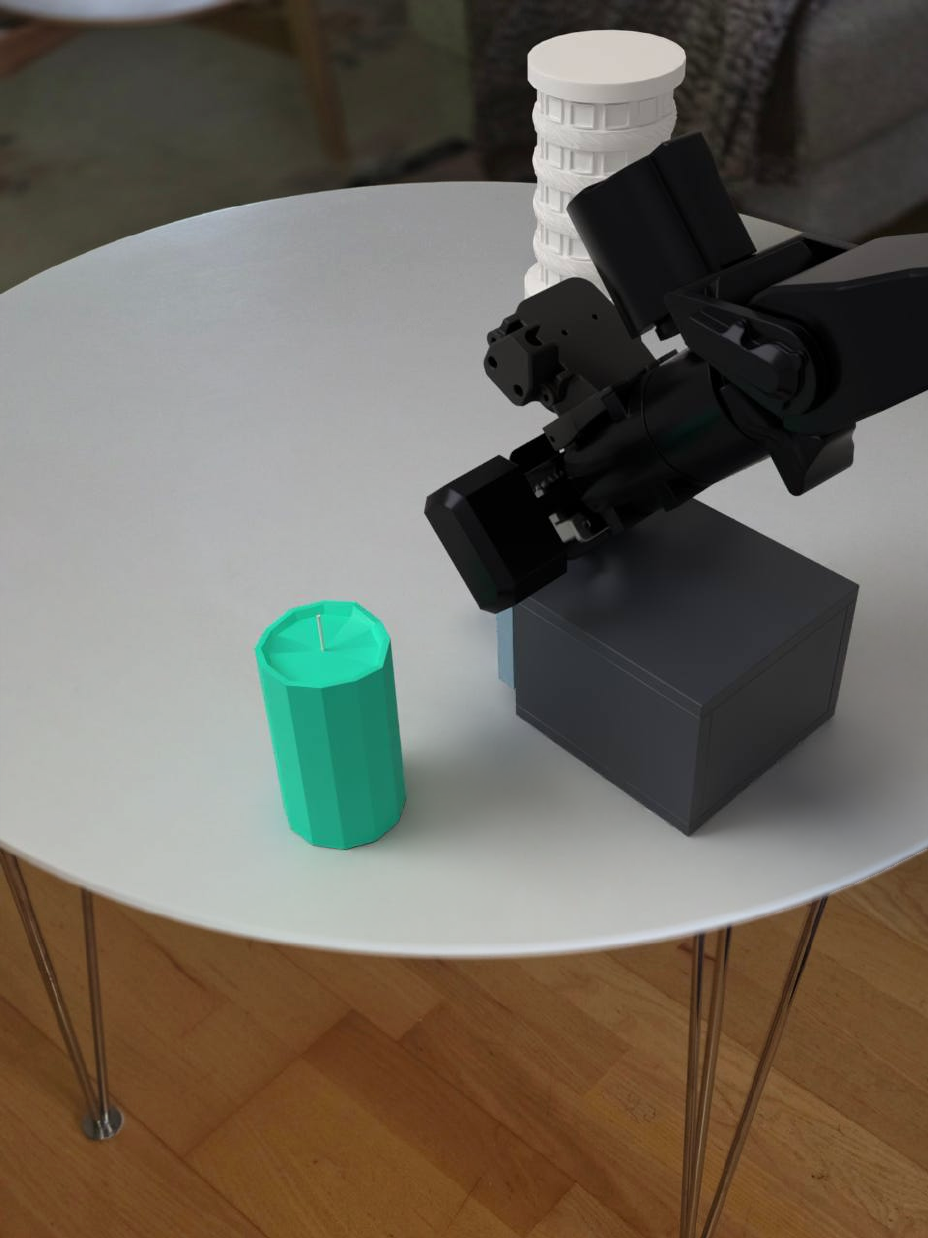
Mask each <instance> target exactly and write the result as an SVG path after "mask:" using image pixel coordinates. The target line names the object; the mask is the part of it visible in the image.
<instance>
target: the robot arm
mask: <svg viewBox="0 0 928 1238" xmlns="http://www.w3.org/2000/svg"><path fill="white" fill-rule="evenodd" d="M566 210H567V213H568V215H569V217H570V219H571V220H572V222H573V224H574V226H575V228H576V230H577V232H578V234H579V236H580V238H581V240H582V242H583V244H584V246H585V248H586V250H587V252H588V254H589V256H590V258H591V260H592V262H593V264H594V266H595V268H596V270H597V272H598V274H599V276H600V278H601V279H602V281H603V283H604V285H605V287H606V289H607V291H608V293H609V295H610V297H611V299H612V301H613V303H614V304H613V303H612V302H611V301H610V300H609V299H608V298H607V297H606V296H605V295H604V294H603V293H602V292H601V291H600V290H599V289H598V288H597V287H596V286H595V285H594V284H593V283H592V282H590V281H588V280H587V279H584V278H580V277H571V278H568V279H565V280H563V281H561V282H559V283H557V284H555V285H553V286H551V287H549V288H547V289H545V290H543V291H541V292H539V293H537V294H535V295H533V296H531V297H529V298H527V299H525V298H524V299H523V300H521V301H520V302H519V303H518V305H517V307H516V309H515V311H514V313H512V314H510V315H508V316H506V317H505V318H503V319H502V321H501V324H500V326H498V327H496V328H494V329H492V330H490V331H489V332H488V333H486V342H487V345H488V349H487V351H486V353H485V356H484V359H483V364H482V365H483V368H484V372H485V375H486V377H488V378H489V379H490V381H491V382H492V383H493V384H494V385H495V386H496V387H497V388H498V390H499V391H500V392H501V393H502V394H503V395H504V396H505V397H506V398H507V399H508V400H509V402H510V403H511V404H513V406H516V407H525V406H527V405H528V404H530V403H533V402H538V403H540V404H541V405H542V406H543V407H544V408H545V409H546V410H548V411H549V412H551V413H552V414H555V415H556V416H557V418H556V419H554V420H552V421H551V422H549V423H547V424H546V425H544V426H543V427H542V428H541V429H542V431H543V433H542V434H541V433H540V435H537V436H536V437H533V438H532V439H530V440H529V441H527V442H525V443H524V444H521V445H520V446H518V447H517V448H515V449H513V450H512V451H511V453H510V454H509V457H508V458H506V457H504V456H503V455H502V454H497V455H496V456H494V457H492V458H490V459H488V460H486V461H485V462H483V463H482V464H481V463H480V464H479V465H478V466H475V467H474V468H473V469H470V470H469V471H466V472H465V473H464V474H462V475H459V476H458V477H457V478H455V479H453V480H451V481H449V482H448V483H446V484H444V485H443V486H441V487H440V488H438V489H436V490H435V491H433V492H431V493H430V494H428V495H427V496H426V499H425V504H424V509H423V514H424V515H425V517H426V519H427V521H428V522H429V524H430V526H431V528H432V529H433V531H434V533H435V535H436V536H437V538H438V539H439V542H440V543H441V545H442V546H443V548H444V550H445V552H446V553H447V555H448V557H449V558H450V560H451V562H452V563H453V565H454V567H455V569H456V571H457V572H458V574H459V575H460V577H461V579H462V581H463V583H464V584H465V586H466V587H467V589H468V591H469V593H470V594H471V596H472V597H473V599H474V601H475V603H476V605H477V606H478V609H480V610H481V611H484V612H487V613H490V614H493V615H497V613H500V612H502V611H504V610H506V609H509V608H511V607H513V606H516V605H517V604H519V603H520V602H522V601H523V600H525V599H526V598H528V597H529V596H531V595H533V594H534V593H536V592H537V591H539V590H540V589H542V588H543V587H545V586H546V585H548V584H550V583H551V582H553V581H554V580H556V579H557V578H559V577H560V576H562V575H563V574H565V573H567V561H571V560H575V559H578V558H579V557H581V556H582V555H584V554H585V553H587V552H588V551H590V550H592V549H593V548H595V547H596V546H598V545H599V544H601V543H602V542H604V541H606V540H607V539H609V536H608V535H607V533H606V531H605V530H606V529H608V528H609V529H610V530H611V532H612V534H613V536H616V535H619V534H621V533H623V532H625V531H627V530H628V529H630V528H632V527H633V526H635V525H636V524H638V523H639V522H641V521H642V520H644V519H646V518H647V517H649V516H650V515H652V514H653V512H654V513H655V512H656V511H658V510H660V509H662V508H664V510H665V512H668V511H670V510H672V509H675V508H677V507H679V506H681V505H682V504H684V503H685V502H687V501H688V500H690V499H691V498H695V497H696V496H697V495H699V494H701V493H702V492H704V491H705V490H707V489H708V488H710V487H712V486H713V485H715V484H717V483H719V482H721V481H724V480H726V479H727V478H730V477H731V476H734V475H736V474H739V473H740V472H743V471H745V470H746V469H747V470H748V469H749V468H751V467H753V466H755V465H757V464H759V463H761V462H763V461H766V460H768V459H770V458H771V460H772V462H773V464H774V466H775V468H776V470H777V472H778V474H779V476H780V478H781V480H782V482H783V484H784V486H785V488H786V490H787V491H788V493H789V494H790V495H791V496H793V497H801V496H803V495H804V494H806V493H807V492H809V491H812V490H813V489H815V488H816V487H819V486H820V485H822V484H823V483H825V482H827V481H829V480H831V479H832V478H834V477H836V476H837V475H839V474H841V473H843V472H845V471H846V470H848V469H849V468H851V467H852V466H853V464H854V459H855V458H854V457H855V441H854V440H853V436H854V435H853V434H854V432H855V431H856V429H857V423H858V422H861V421H863V420H865V419H867V418H870V417H873V416H876V415H877V414H880V413H882V412H885V411H887V410H888V409H891V408H893V407H895V406H897V405H900V404H901V403H904V402H906V401H908V400H910V399H912V398H915V397H916V396H919V395H921V394H924V393H925V392H927V391H928V232H924V233H922V232H921V233H912V234H911V233H910V234H900V235H890V236H882V237H878V238H873V239H870V240H869V241H867V242H865V243H863V244H860V245H859V244H856V243H851V242H848V241H843V240H839V239H835V238H831V237H828V236H822V235H819V234H815V233H811V232H807V231H806V232H805V231H804V232H800V233H798V234H796V235H794V236H792V237H790V238H787V239H784V240H783V241H780V242H778V243H776V244H774V245H771V246H769V247H767V248H764V249H762V250H759V251H758V249H757V248H756V246H755V244H754V242H753V240H752V238H751V236H750V233H749V232H748V230H747V227H746V226H745V223H744V222H743V220H742V218H741V216H740V214H739V212H738V210H737V208H736V206H735V203H734V202H733V200H732V198H731V196H730V194H729V191H728V190H727V188H726V186H725V184H724V182H723V180H722V178H721V175H720V172H719V169H718V165H717V161H716V159H715V156H714V154H713V152H712V150H711V148H710V146H709V144H708V142H707V140H706V138H705V136H704V134H703V132H702V131H700V130H698V129H694V130H692V131H689V132H687V133H684V134H681V135H679V136H676V137H673V138H671V139H670V140H667V141H665V142H662V143H661V144H660V145H659V146H658V147H657V148H656V149H654V150H653V151H652V152H651V153H650V154H649V155H647V156H645V157H643V158H641V159H639V160H637V161H635V162H633V163H632V164H630V165H628V166H626V167H624V168H623V169H621V170H619V171H618V172H616V173H614V174H613V175H611V176H610V177H608V178H607V179H605V180H603V181H600V182H598V183H595V184H592V185H590V186H588V187H586V188H584V189H583V190H582V191H580V192H579V193H578V194H577V195H576V196H575V197H574V198H573V199H572V200H571V201H570V202H569V204H568V206H567V208H566ZM654 328H655V329H654ZM653 329H654V332H655V334H656V336H657V339H658V340H659V342H663V341H667V340H669V339H671V338H672V339H673V338H674V337H677V336H678V335H680V336H681V338H682V340H683V342H684V345H685V346H686V347H685V348H684V349H682V350H681V351H680V352H679V351H678V350H677V348H674V349H672V350H670V351H669V352H667V353H665V354H663V355H662V356H659V357H657V358H656V357H655V356H654V355H653V353H652V352H651V351H650V349H649V348H648V347H647V346H646V344H645V343H644V342H643V340H642V339H643V338H642V336H643V335H645V334H647V333H648V332H650V331H652V330H653ZM562 450H563V451H562Z"/></svg>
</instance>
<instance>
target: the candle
mask: <svg viewBox="0 0 928 1238" xmlns="http://www.w3.org/2000/svg"><path fill="white" fill-rule="evenodd" d="M253 650H254V654H255V659H256V665H257V670H258V671H257V672H258V676H259V682H260V686H261V692H262V697H263V702H264V708H265V713H266V714H265V715H266V719H267V724H268V729H269V730H268V731H269V735H270V740H271V745H272V750H273V756H274V761H275V766H276V772H277V778H278V783H279V787H280V793H281V799H282V804H283V808H284V811H285V814H286V815H285V816H286V819H287V821H288V824H289V828H290V830H291V831H292V832H294V833H295V834H296V835H298V836H300V837H301V838H302V839H304V840H305V841H306V842H308V843H309V844H310V845H312V846H315V847H323V848H331V849H338V850H348V849H353V848H356V847H358V846H363V845H366V844H369V843H372V842H377V841H378V840H379V839H380V838H382V837H383V836H385V834H386V833H387V832H389V831H390V830H391V829H392V828H393V827H394V826H396V825H397V823H399V822H400V818H401V816H402V813H403V809H404V807H405V803H406V800H407V792H406V781H405V771H404V762H403V759H404V758H403V751H402V740H401V732H400V731H401V730H400V721H399V711H398V710H399V709H398V699H397V690H396V679H395V669H394V658H393V649H392V640H391V636H390V635H389V633H388V631H387V629H386V627H385V625H384V624H383V621H382V620H381V619H379V618H378V617H377V616H375V615H374V614H373V613H371V612H370V611H369V610H368V609H367V608H366V607H364V606H363V605H362V604H360V603H359V602H357V601H351V600H349V601H348V600H331V599H330V600H328V599H323V600H319V601H315V602H312V603H311V602H310V603H308V604H303V605H300V606H296V607H292V608H289V609H288V610H287V611H286V612H285V613H283V614H282V615H281V616H279V617H278V618H277V619H275V620H274V621H273V622H272V623H270V624H269V625H268V626H266V627H265V628H264V630H263V632H262V634H261V636H260V638H259V640H258V641H257V643H256V645H255V647H254V649H253Z"/></svg>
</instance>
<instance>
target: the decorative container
mask: <svg viewBox="0 0 928 1238" xmlns="http://www.w3.org/2000/svg"><path fill="white" fill-rule="evenodd" d="M686 65H687V56H686V51H685V50H684V49H683V47H681V46H680V45H679V44H678V43H677V42H675V41H672V40H670V39H668V38H666V37H663V36H659V35H656V34H652V33H648V32H647V33H646V32H642V31H641V32H640V31H633V30H619V29H602V30H601V29H598V30H585V31H578V32H576V31H575V32H570V33H566V34H562V35H557V36H554V37H552V38H551V37H550V38H549V39H546V40H543V41H541V42H540V43H538V44H536V45H535V46H533V47H532V48H531V50H530V51H529V52H528V53H527V82H529V84H530V85H531V86H532V87H533V88H534V89H536V101H535V102H534V106H533V110H532V115H531V116H532V117H531V118H532V123H533V125H534V131H535V132H536V145H535V146H534V151H533V154H532V166H533V169H534V174H535V176H536V179H537V180H536V181H537V182H536V184H537V187H536V188H535V189H534V194H533V198H532V208H533V212H534V216H535V218H536V219H537V227H536V229H535V231H534V236H533V239H532V248H533V251H534V256H535V258H536V260H537V261H536V262H535V263H534V264H533V265H531V266H530V267H529V268H528V270H527V272H526V273H525V275H524V300H525V299H527V298H529V297H531V296H533V295H535V294H537V293H539V292H541V291H543V290H545V289H547V288H549V287H551V286H553V285H555V284H557V283H559V282H561V281H563V280H565V279H568V278H571V277H580V278H584V279H587V280H588V281H590V282H592V283H593V284H594V285H595V286H596V287H597V288H598V289H599V290H600V291H601V292H602V293H603V294H604V295H605V296H606V297H607V298H608V299H609V300H610V301H611V302H612V303H613V301H612V299H611V297H610V295H609V293H608V291H607V289H606V287H605V285H604V283H603V281H602V279H601V278H600V276H599V274H598V272H597V270H596V268H595V266H594V264H593V262H592V260H591V258H590V256H589V254H588V252H587V250H586V248H585V246H584V244H583V242H582V240H581V238H580V236H579V234H578V232H577V230H576V228H575V226H574V224H573V222H572V220H571V219H570V217H569V215H568V213H567V210H566V208H567V206H568V204H569V202H570V201H571V200H572V199H573V198H574V197H575V196H576V195H577V194H578V193H579V192H580V191H582V190H583V189H584V188H586V187H588V186H590V185H592V184H595V183H598V182H600V181H603V180H605V179H607V178H608V177H610V176H611V175H613V174H614V173H616V172H618V171H619V170H621V169H623V168H624V167H626V166H628V165H630V164H632V163H633V162H635V161H637V160H639V159H641V158H643V157H645V156H647V155H649V154H650V153H651V152H652V151H653V150H654V149H656V148H657V147H658V146H659V145H660V144H661V143H662V142H665V141H667V140H670V139H672V138H671V137H672V136H671V135H672V134H673V131H674V129H675V127H676V122H677V119H678V116H677V114H678V111H677V106H676V101H675V99H674V90H675V89H676V88H677V87H679V86H680V85H681V84H682V83H683V81H684V79H685V77H686ZM613 304H614V303H613Z"/></svg>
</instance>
